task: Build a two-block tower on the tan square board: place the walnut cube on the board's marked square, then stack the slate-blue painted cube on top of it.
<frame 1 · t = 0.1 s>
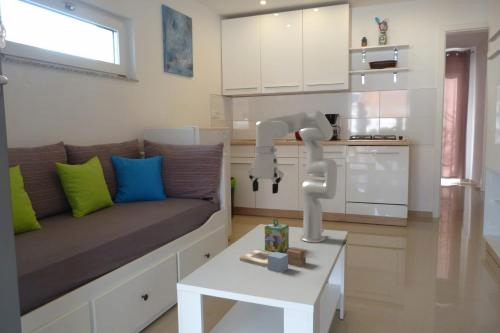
hand: (265, 192, 153), 31 cm above the table, fingers open, 9 cm apart
slate cube: (278, 269, 152), on the table
walnut cube: (296, 263, 158), on the table
chalk box: (276, 249, 177), on the table
tan square board: (261, 259, 163), on the table
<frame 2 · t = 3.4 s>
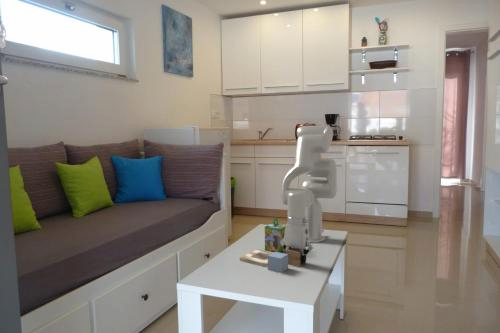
hand: (296, 261, 158), 1 cm above the table, fingers closed on walnut cube, 6 cm apart
walnut cube: (296, 263, 158), on the table, touching gripper
everything else where it was.
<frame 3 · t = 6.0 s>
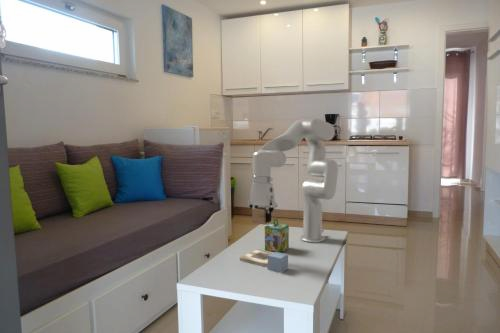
hand: (261, 220, 162), 17 cm above the table, fingers closed on walnut cube, 6 cm apart
walnut cube: (261, 221, 162), point 17 cm above the table, touching gripper
everything else where it was.
when the fingers open (3 cm above the table, at t = 9.0 s): walnut cube drops 1 cm, resting on tan square board.
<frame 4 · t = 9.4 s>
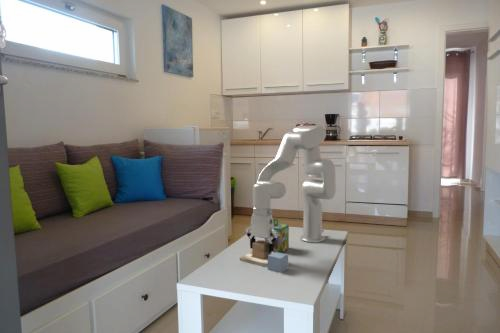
hand: (261, 249, 163), 4 cm above the table, fingers open, 9 cm apart
walnut cube: (261, 255, 163), point 2 cm above the table, touching tan square board
everything else where it was.
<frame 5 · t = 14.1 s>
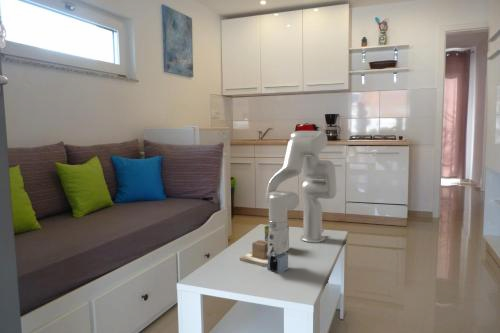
hand: (277, 267, 151), 1 cm above the table, fingers closed on slate cube, 6 cm apart
slate cube: (277, 269, 152), on the table, touching gripper
everything else where it was.
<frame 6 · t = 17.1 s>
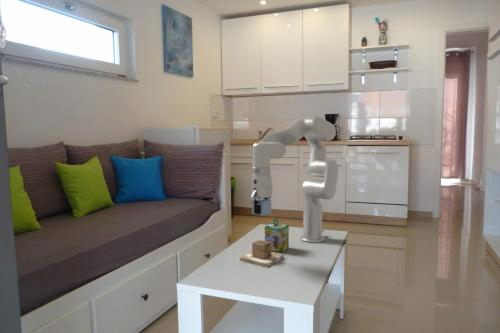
hand: (261, 211, 161), 21 cm above the table, fingers closed on slate cube, 6 cm apart
slate cube: (261, 213, 161), point 21 cm above the table, touching gripper
everything else where it was.
when the fingers open (9 cm above the table, at t = 20.2 s): slate cube drops 1 cm, resting on walnut cube.
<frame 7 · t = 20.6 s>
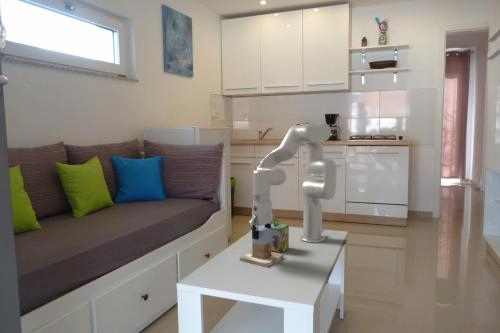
hand: (261, 236, 162), 10 cm above the table, fingers open, 9 cm apart
slate cube: (261, 242, 163), point 8 cm above the table, touching walnut cube
walnut cube: (261, 255, 163), point 2 cm above the table, touching tan square board, slate cube
everything else where it was.
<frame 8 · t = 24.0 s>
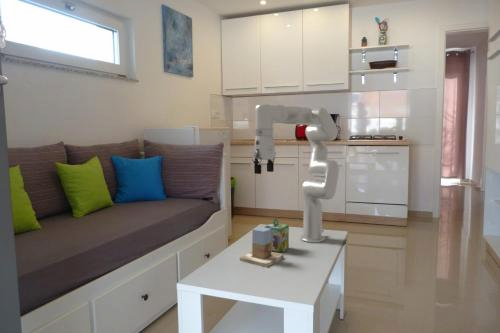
hand: (264, 172, 161), 38 cm above the table, fingers open, 9 cm apart
nothing on the table moved.
at the end: walnut cube inside the target area on the tan square board (0.0 cm from its centre), point 1.5 cm above the tan square board's base; slate cube 0.1 cm off-centre on the walnut cube, point 6.0 cm above the walnut cube's base; slate cube tilted 0° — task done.
